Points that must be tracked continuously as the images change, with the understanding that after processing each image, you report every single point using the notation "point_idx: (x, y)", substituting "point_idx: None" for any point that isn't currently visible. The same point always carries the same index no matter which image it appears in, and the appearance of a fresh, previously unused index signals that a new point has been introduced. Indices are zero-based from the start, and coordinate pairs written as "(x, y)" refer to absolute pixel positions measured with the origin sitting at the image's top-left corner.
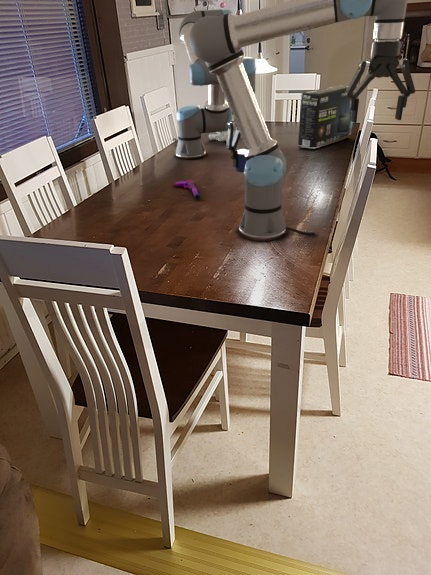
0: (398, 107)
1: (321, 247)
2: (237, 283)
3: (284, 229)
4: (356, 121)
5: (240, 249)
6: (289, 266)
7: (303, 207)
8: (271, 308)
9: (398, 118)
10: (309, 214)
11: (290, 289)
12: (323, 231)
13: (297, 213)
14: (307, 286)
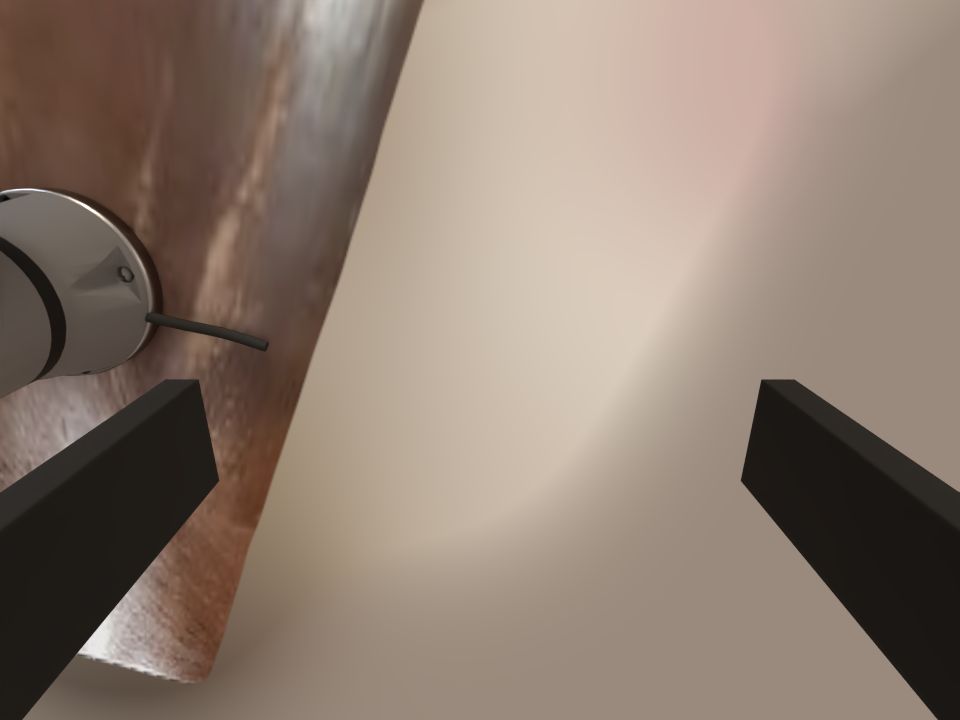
0: (845, 516)
1: (279, 429)
2: None
3: (141, 335)
4: (211, 489)
5: (11, 406)
6: None
7: (255, 20)
8: (131, 668)
9: (752, 479)
10: (274, 125)
11: (174, 614)
12: (307, 313)
13: (219, 102)
14: (215, 608)
